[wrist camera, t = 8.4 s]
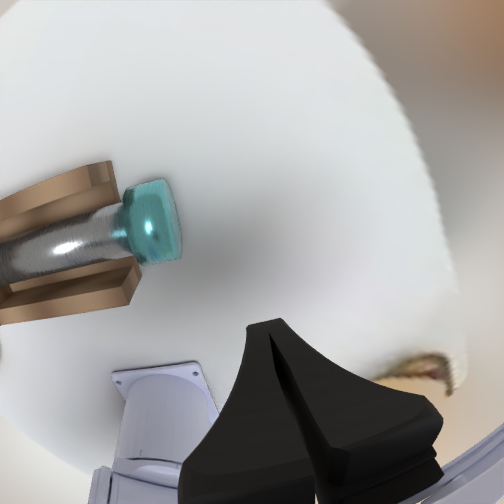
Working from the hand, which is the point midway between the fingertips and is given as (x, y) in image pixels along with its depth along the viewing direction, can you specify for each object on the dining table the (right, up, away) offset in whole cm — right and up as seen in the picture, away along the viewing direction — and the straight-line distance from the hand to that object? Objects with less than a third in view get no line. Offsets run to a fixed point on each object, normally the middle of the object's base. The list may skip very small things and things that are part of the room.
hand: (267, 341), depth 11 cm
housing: (-15, +4, +6) cm, 17 cm away
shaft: (-12, +5, +6) cm, 14 cm away
